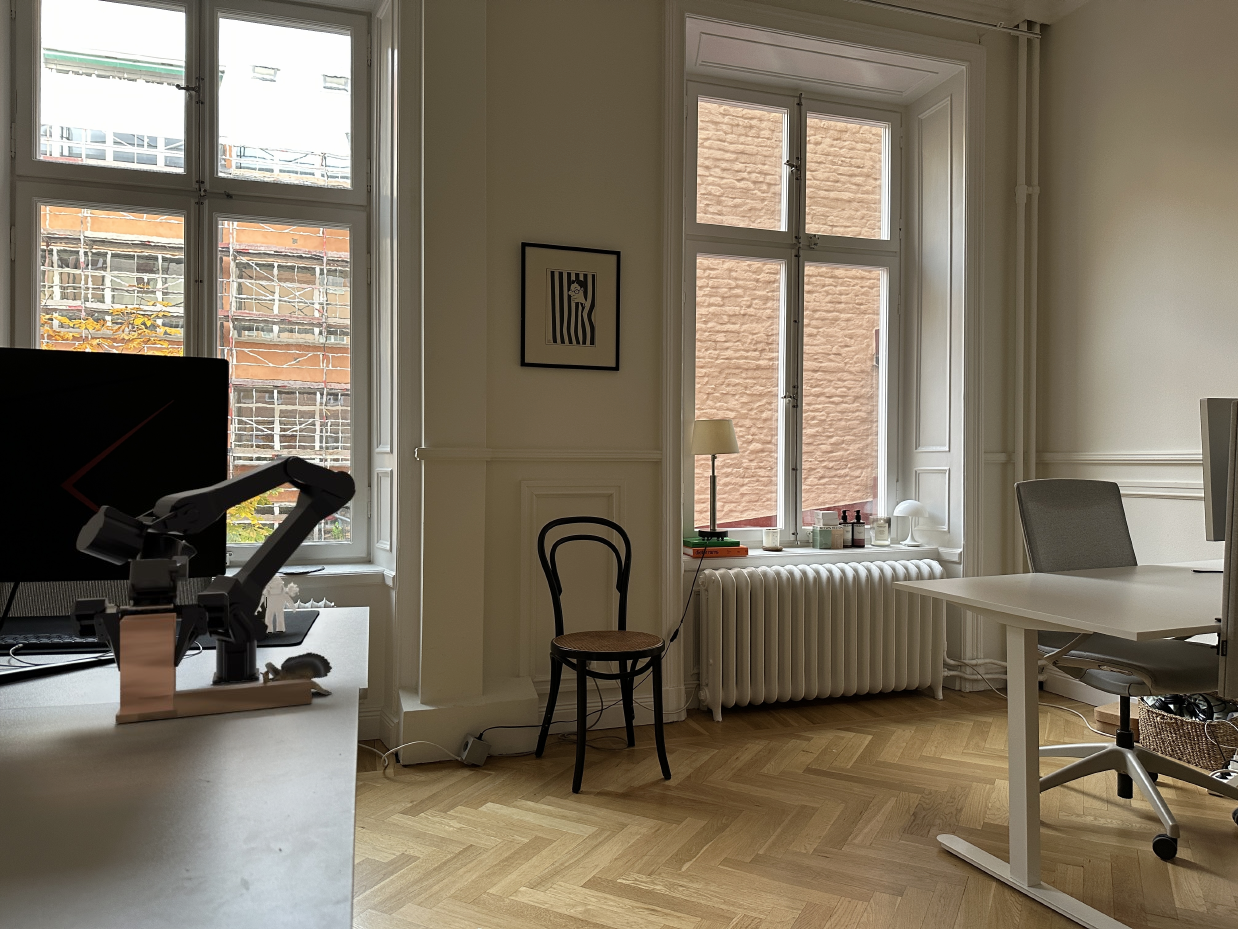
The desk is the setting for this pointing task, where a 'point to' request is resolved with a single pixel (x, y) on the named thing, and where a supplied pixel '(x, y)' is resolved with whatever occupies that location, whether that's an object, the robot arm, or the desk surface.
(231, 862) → the desk surface
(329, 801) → the desk surface
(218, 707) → the wooden l-shaped stand
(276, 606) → the blocky character figurine
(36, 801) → the desk surface
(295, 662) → the brown squirrel figurine
